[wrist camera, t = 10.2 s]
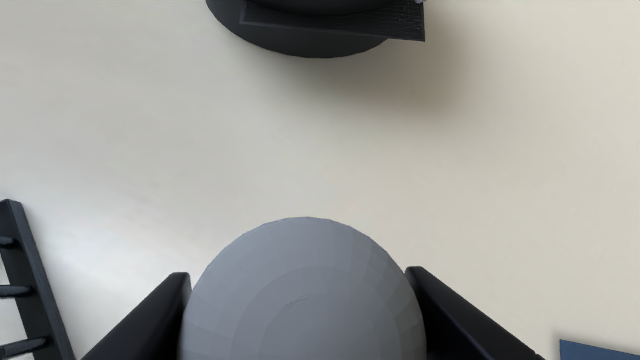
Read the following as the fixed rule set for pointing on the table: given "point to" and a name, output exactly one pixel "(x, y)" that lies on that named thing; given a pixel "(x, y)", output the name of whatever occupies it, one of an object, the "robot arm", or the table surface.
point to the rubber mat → (591, 352)
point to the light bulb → (302, 299)
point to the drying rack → (29, 291)
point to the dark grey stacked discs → (321, 24)
